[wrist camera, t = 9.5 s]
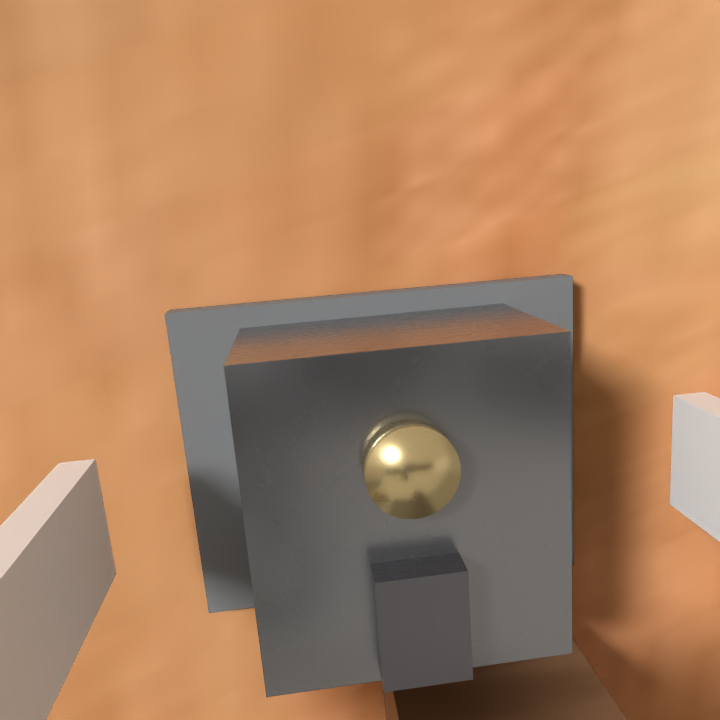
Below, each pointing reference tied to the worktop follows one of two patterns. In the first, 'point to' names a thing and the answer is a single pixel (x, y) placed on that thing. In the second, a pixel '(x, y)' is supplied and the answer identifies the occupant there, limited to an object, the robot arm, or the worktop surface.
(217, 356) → the mat
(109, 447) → the worktop surface
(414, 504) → the lever cap
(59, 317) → the worktop surface
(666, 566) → the worktop surface
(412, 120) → the worktop surface
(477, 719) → the plane body
